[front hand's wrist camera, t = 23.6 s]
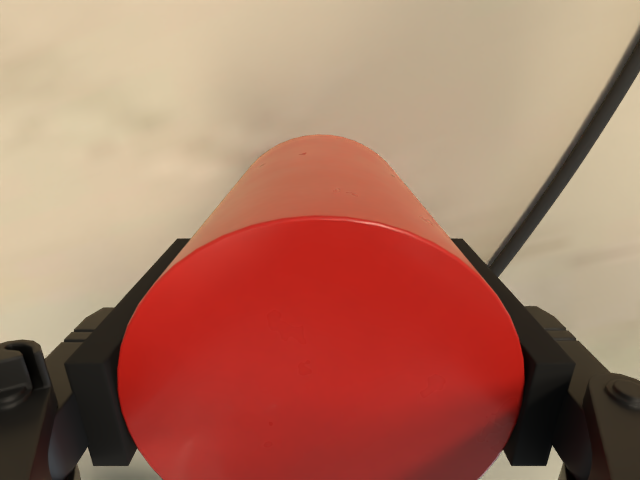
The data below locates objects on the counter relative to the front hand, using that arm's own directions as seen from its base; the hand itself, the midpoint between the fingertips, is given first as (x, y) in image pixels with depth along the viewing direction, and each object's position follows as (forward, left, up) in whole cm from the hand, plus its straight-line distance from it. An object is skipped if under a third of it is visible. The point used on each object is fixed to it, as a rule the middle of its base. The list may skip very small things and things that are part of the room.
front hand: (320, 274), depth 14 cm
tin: (0, 0, -5) cm, 5 cm away
